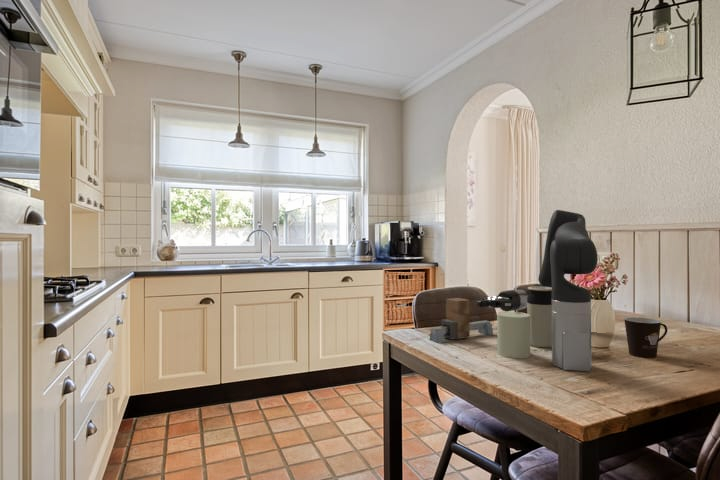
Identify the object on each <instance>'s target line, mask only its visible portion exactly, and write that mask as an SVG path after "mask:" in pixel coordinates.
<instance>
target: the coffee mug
mask: <svg viewBox="0 0 720 480" xmlns="http://www.w3.org/2000/svg"><path fill="white" fill-rule="evenodd" d="M623 321H624V326H625V327H624V328H625V333H626V340H627V348H628V354H629V355H630V356H632V357H636V358H640V359H641V358H642V359H656V358H657V357H658V356H657V355H658V349H659V342H661V341H662V340H663V339H664V338H665V337H666V336H667V334H668V326H667V325H666V324H665V323H664V324H663V323H662V321H661V320H659V319H653V318H648V317H639V316H638V317H637V316H636V317H635V316H629V317H628V316H627V317H624V318H623ZM661 326H662V327H663V328H664V333H663V334H662V335H661V336H660V333H661Z"/></svg>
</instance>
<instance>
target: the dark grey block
mask: <svg viewBox="0 0 720 480" xmlns="http://www.w3.org/2000/svg"><path fill="white" fill-rule="evenodd" d="M446 325H449V326H450V334H444V338H445V339H446V338H447V339H450V340H457V339H458V338H457V322H456V321H452V320H448V319H446V318H444V319H441V325H440V326H446Z"/></svg>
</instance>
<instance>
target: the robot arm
mask: <svg viewBox="0 0 720 480" xmlns="http://www.w3.org/2000/svg"><path fill="white" fill-rule="evenodd" d="M586 226H587V225H586V218H585V216H584V215H583V214H581V213H577V212H572V211H567V210H562V209H561V210H560V209H556V210H555V211H553V213H552V215H551V217H550V220H549V225H548V229H547V234H546V240H545V245H544V253H543V259H542V263H541V267H540V271H539V274H538V278H537V279H538V282H539V284H534V285H532V286H531V287H534V286H539V287H551V288H552V347H551V363H552V365H553V366H554V367H557V368H560V369H562V370H565V371H579V372H580V371H581V372H582V371H583V372H591V369H592V367H593V365H592V364H593V363H592V354H593V353H592V293H591V291H590V289H587V288H586V287H582V286H579V285H577V284H574V283H572V282H571V281H569V280H568V279H566V278H565V275H588V274H591V273H593V272H594V271H595V270H596V268H597V266H598V257H599V256H598V250H597V248H596V245H595V243H594V241H593V240H592V239H591V238H590V235H589V232H588V231H587V229H586V228H587V227H586ZM528 295H529V289H528V288H526V289H525V288H524V289H511V290H502V291H500V292H499V293H498V294H497V295H493V296H490V297H489V296H483V297H482V298H481V300H477V301H476V307H477V308H493V309H500V310H502V312H515V311H520V310H523V309H527V297H528Z"/></svg>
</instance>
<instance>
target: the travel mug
mask: <svg viewBox="0 0 720 480" xmlns="http://www.w3.org/2000/svg"><path fill="white" fill-rule="evenodd" d="M533 286H534V285H533ZM527 289H529V295H528V297H527V308H526V312H527V314H529V315H530V346H531V347H536V348H542V349H543V348H544V349H545V348H546V349H548V348H549V349H550V348H552V288H551V287H539V286H534V287H532V286H528V287H527Z"/></svg>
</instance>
